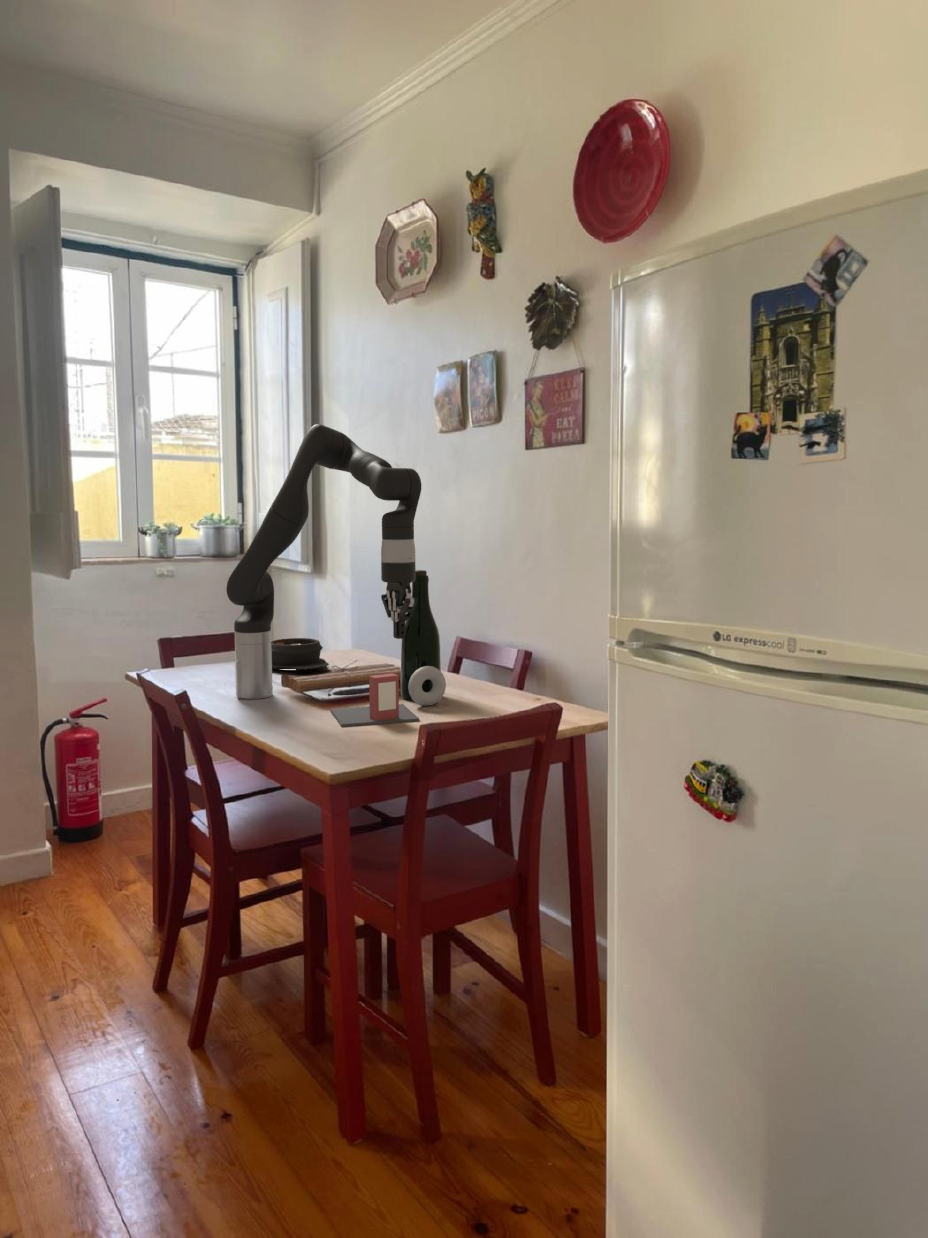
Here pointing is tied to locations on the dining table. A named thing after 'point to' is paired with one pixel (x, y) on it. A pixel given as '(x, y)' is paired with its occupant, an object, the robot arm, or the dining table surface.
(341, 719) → the mat
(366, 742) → the dining table surface
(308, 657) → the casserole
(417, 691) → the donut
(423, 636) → the dark green wine bottle
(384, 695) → the card box
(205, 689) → the dining table surface
